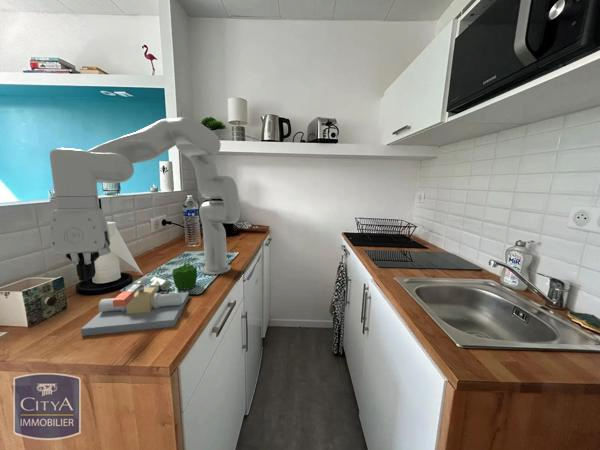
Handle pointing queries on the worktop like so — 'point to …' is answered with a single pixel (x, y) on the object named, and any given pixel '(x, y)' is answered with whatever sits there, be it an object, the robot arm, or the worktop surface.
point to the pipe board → (138, 313)
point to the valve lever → (129, 293)
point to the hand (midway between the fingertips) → (87, 278)
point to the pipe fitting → (159, 283)
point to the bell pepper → (185, 276)
